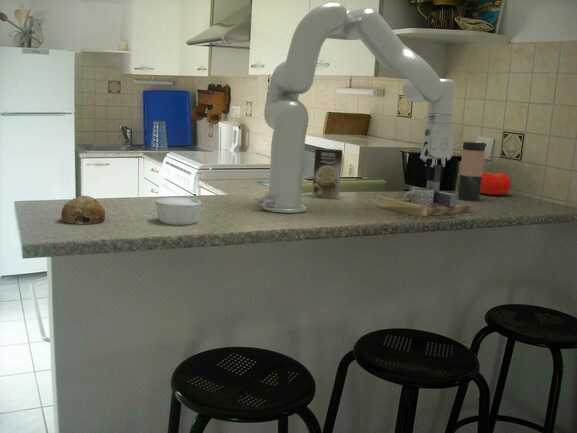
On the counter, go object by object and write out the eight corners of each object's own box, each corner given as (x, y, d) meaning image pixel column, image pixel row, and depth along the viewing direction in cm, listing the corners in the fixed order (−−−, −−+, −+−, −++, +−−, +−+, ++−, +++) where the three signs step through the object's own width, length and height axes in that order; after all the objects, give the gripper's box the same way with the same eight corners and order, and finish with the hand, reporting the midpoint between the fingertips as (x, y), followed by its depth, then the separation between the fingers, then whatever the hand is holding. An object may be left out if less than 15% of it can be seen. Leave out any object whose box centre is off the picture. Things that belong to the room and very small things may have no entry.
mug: (425, 208, 199) (427, 187, 198) (436, 212, 193) (438, 190, 192) (396, 208, 196) (398, 187, 195) (406, 212, 190) (408, 190, 189)
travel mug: (482, 199, 225) (488, 143, 221) (476, 202, 219) (482, 144, 215) (461, 197, 229) (466, 141, 225) (454, 199, 223) (460, 142, 219)
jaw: (449, 206, 190) (453, 167, 188) (408, 197, 204) (411, 161, 201) (456, 206, 192) (459, 167, 190) (414, 197, 205) (418, 161, 203)
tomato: (504, 193, 246) (507, 171, 244) (512, 198, 234) (515, 175, 232) (471, 191, 247) (474, 169, 246) (477, 195, 235) (479, 173, 234)
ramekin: (208, 224, 156) (208, 203, 155) (165, 227, 150) (166, 205, 149) (189, 216, 165) (190, 196, 164) (148, 218, 159) (149, 198, 158)
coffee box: (311, 197, 209) (314, 148, 206) (312, 194, 215) (315, 147, 212) (338, 199, 208) (342, 150, 205) (339, 196, 214) (342, 149, 211)
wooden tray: (418, 216, 183) (419, 206, 182) (378, 206, 197) (379, 197, 196) (472, 211, 197) (473, 202, 196) (431, 203, 210) (431, 194, 210)
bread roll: (62, 239, 148) (63, 211, 144) (59, 213, 156) (60, 186, 151) (106, 237, 152) (108, 210, 148) (101, 212, 160) (102, 186, 155)
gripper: (430, 120, 185) (424, 182, 189) (466, 121, 195) (460, 180, 198) (411, 118, 191) (406, 178, 195) (447, 119, 201) (441, 177, 204)
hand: (433, 179), depth 196 cm, fingers closed on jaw, 2 cm apart
